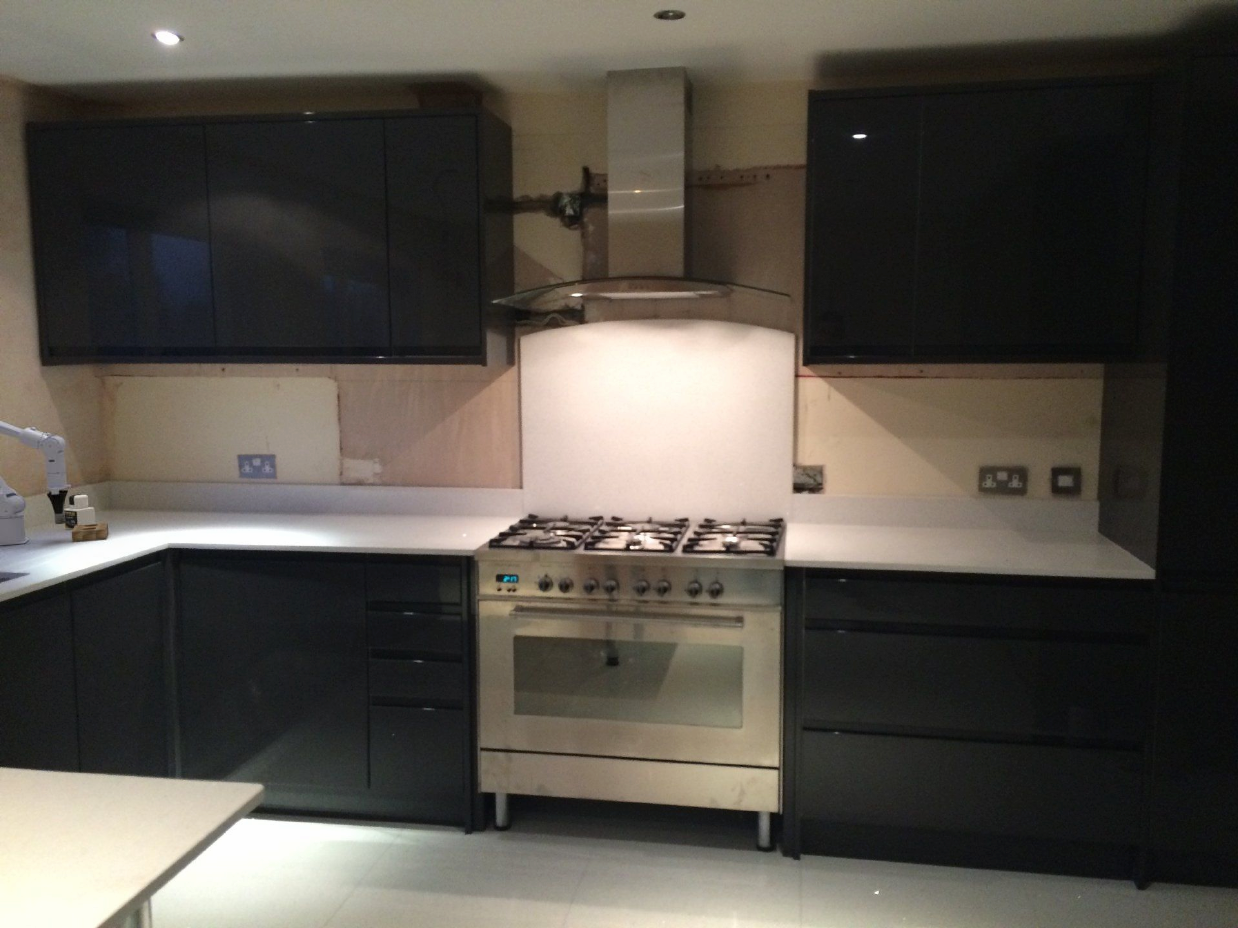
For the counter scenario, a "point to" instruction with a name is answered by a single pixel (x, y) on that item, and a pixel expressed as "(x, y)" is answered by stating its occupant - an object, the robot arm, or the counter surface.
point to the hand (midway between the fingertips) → (59, 513)
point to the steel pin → (60, 517)
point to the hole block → (90, 532)
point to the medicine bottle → (79, 512)
